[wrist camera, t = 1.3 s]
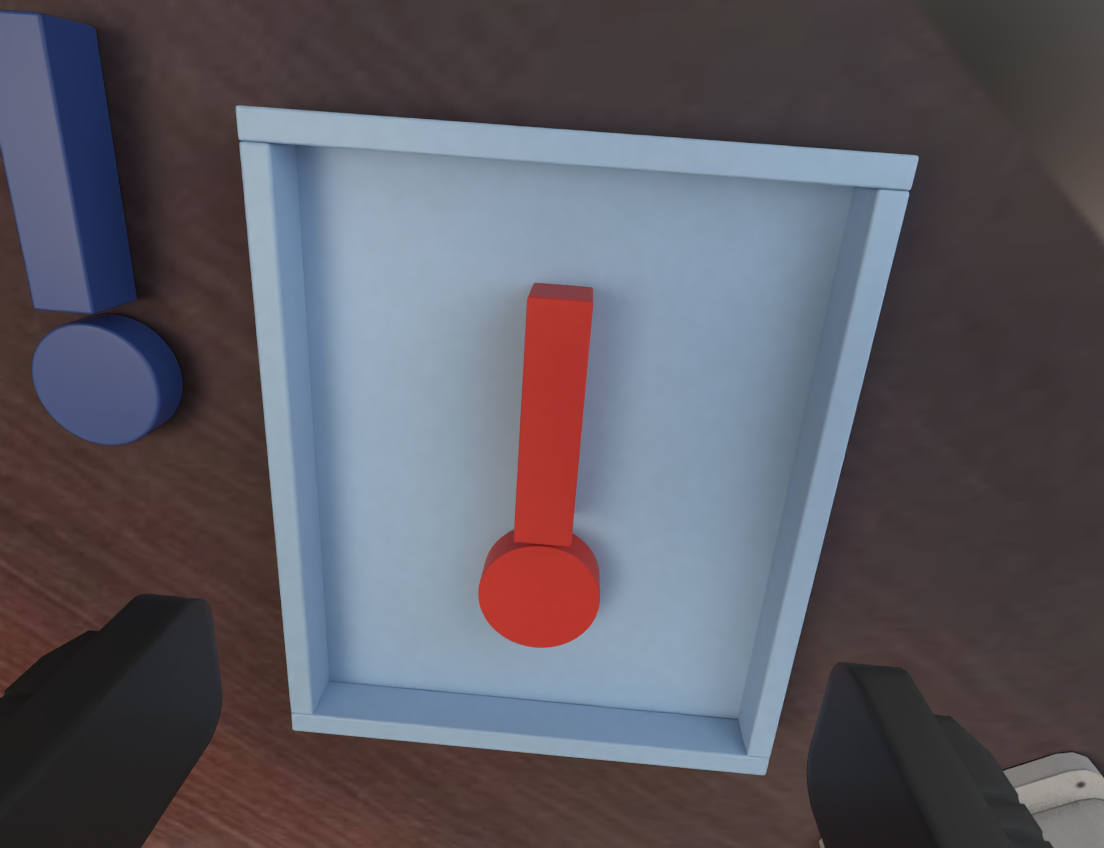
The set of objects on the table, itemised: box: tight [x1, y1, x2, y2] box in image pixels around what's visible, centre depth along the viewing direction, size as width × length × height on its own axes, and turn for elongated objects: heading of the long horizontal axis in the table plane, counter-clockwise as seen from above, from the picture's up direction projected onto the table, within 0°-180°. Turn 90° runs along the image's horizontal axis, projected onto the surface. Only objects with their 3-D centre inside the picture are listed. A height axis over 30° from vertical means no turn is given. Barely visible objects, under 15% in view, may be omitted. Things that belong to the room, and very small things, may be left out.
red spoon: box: [478, 283, 600, 648], centre depth 18 cm, size 10×3×2 cm, turn 176°
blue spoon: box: [0, 10, 183, 445], centre depth 17 cm, size 10×3×2 cm, turn 176°
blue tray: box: [236, 105, 919, 775], centre depth 19 cm, size 17×14×2 cm
